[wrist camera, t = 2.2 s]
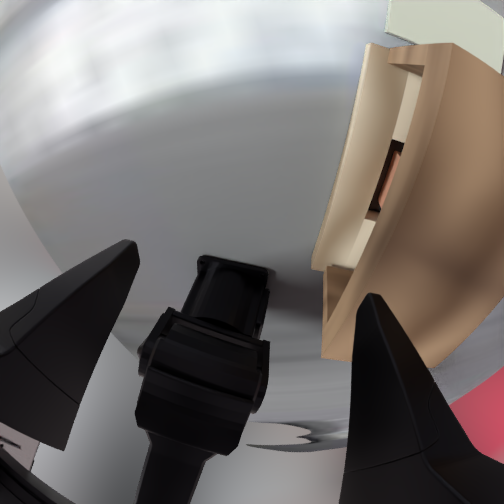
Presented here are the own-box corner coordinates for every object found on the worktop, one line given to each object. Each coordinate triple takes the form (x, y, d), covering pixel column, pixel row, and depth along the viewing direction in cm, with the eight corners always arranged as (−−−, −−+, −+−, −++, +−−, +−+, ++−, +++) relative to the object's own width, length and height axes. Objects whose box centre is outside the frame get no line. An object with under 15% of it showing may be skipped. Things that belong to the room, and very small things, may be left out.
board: (311, 256, 23) (311, 268, 21) (366, 44, 11) (371, 42, 10) (453, 287, 21) (457, 298, 20) (530, 134, 10) (540, 141, 9)
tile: (384, 32, 11) (387, 31, 10) (392, -41, 6) (394, -44, 6) (493, 88, 10) (497, 90, 9) (501, 20, 6) (506, 20, 5)
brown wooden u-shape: (323, 274, 21) (321, 357, 15) (390, 48, 10) (452, 42, 4) (417, 293, 20) (434, 367, 15) (504, 109, 9) (578, 152, 4)
